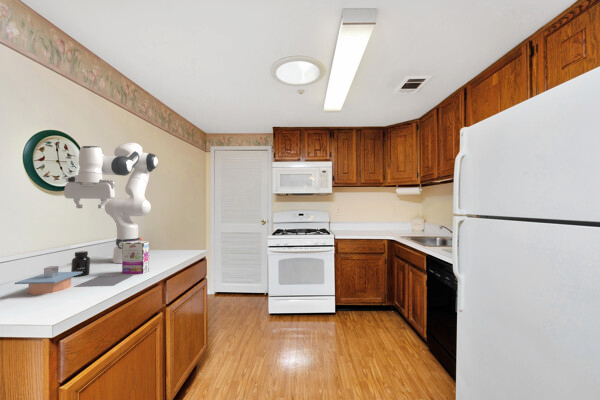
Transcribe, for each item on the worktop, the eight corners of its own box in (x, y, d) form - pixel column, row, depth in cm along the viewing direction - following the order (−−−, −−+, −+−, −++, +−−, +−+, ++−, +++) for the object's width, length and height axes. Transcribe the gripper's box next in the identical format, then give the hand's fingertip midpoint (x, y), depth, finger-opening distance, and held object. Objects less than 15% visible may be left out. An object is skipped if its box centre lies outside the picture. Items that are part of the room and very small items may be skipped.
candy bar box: (149, 272, 129) (149, 241, 129) (142, 274, 124) (143, 242, 124) (128, 271, 129) (129, 240, 129) (121, 274, 124) (121, 242, 124)
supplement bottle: (78, 278, 117) (79, 253, 117) (67, 277, 118) (67, 252, 118) (93, 274, 124) (93, 250, 124) (82, 273, 125) (83, 250, 125)
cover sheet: (47, 273, 108) (48, 263, 108) (82, 272, 109) (82, 262, 109) (14, 284, 94) (14, 272, 94) (54, 283, 95) (54, 271, 95)
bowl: (47, 285, 107) (48, 274, 107) (77, 284, 108) (78, 273, 108) (19, 296, 95) (19, 283, 95) (53, 295, 96) (54, 282, 96)
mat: (99, 276, 120) (99, 275, 120) (134, 276, 122) (134, 275, 122) (73, 288, 104) (73, 286, 104) (113, 286, 106) (113, 285, 106)
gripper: (118, 180, 121) (117, 208, 121) (72, 179, 118) (72, 208, 118) (109, 179, 114) (109, 208, 114) (61, 178, 112) (61, 208, 112)
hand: (90, 208), depth 116 cm, fingers open, 8 cm apart
